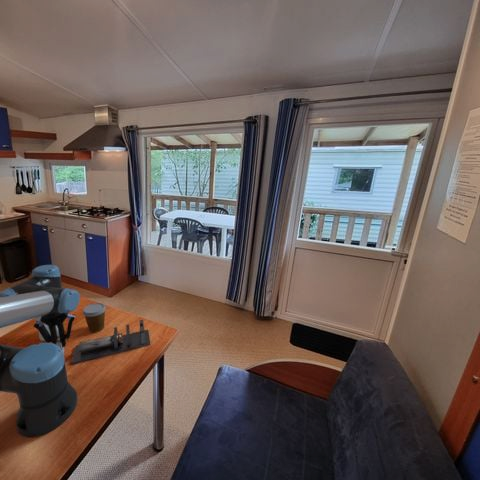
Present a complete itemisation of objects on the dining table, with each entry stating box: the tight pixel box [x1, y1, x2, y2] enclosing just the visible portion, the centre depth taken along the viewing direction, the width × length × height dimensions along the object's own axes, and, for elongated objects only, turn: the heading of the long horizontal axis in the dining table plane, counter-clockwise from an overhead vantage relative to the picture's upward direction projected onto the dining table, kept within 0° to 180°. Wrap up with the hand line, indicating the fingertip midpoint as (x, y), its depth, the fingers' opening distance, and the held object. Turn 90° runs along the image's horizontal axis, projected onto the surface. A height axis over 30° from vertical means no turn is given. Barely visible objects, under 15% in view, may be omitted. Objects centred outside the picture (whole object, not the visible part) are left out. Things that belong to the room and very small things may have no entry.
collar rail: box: [71, 319, 151, 365], centre depth 100 cm, size 10×30×8 cm, turn 117°
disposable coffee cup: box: [82, 302, 107, 333], centre depth 110 cm, size 10×10×12 cm
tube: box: [78, 332, 123, 352], centre depth 98 cm, size 16×4×4 cm, turn 117°
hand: (61, 353), depth 92 cm, fingers closed
